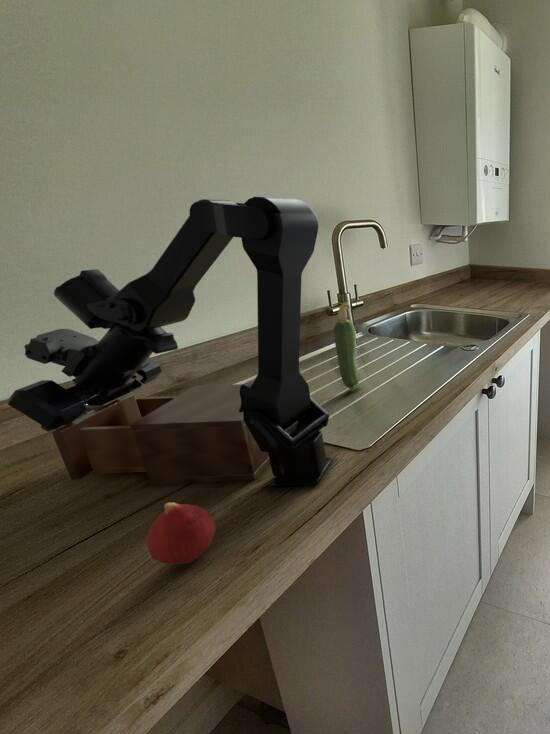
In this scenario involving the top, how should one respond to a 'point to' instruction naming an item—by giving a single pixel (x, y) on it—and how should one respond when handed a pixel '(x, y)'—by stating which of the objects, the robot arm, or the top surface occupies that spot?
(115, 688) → the top surface
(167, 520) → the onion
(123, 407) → the drawer
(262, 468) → the cabinet
